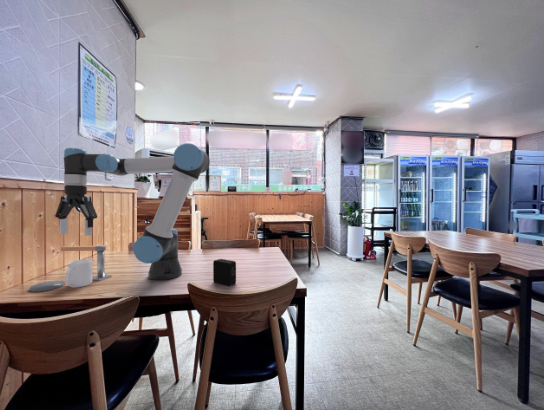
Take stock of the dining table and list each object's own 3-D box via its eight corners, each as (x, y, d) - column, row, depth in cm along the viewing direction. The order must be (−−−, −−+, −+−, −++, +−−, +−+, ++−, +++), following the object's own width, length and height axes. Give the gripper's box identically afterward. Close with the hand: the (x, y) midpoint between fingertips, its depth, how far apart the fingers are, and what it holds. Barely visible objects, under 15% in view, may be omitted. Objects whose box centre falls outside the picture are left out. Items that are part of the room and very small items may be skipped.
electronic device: (229, 286, 104) (229, 263, 104) (213, 282, 109) (213, 260, 109) (236, 283, 108) (236, 261, 107) (219, 279, 113) (219, 258, 113)
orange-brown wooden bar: (102, 251, 113) (102, 246, 113) (59, 251, 112) (59, 247, 112) (107, 249, 117) (107, 245, 117) (66, 249, 116) (66, 245, 116)
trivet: (71, 283, 107) (71, 281, 107) (42, 293, 96) (42, 290, 96) (52, 281, 110) (52, 279, 110) (22, 290, 99) (22, 288, 99)
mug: (76, 291, 98) (75, 266, 98) (55, 291, 98) (55, 266, 98) (97, 281, 110) (96, 259, 110) (78, 281, 110) (78, 259, 110)
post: (111, 276, 117) (111, 250, 117) (100, 280, 111) (99, 252, 111) (101, 275, 119) (101, 249, 118) (89, 279, 113) (89, 251, 113)
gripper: (107, 185, 104) (107, 234, 105) (63, 185, 110) (63, 232, 110) (90, 184, 97) (90, 237, 97) (44, 184, 103) (44, 234, 103)
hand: (76, 234), depth 104 cm, fingers open, 13 cm apart
